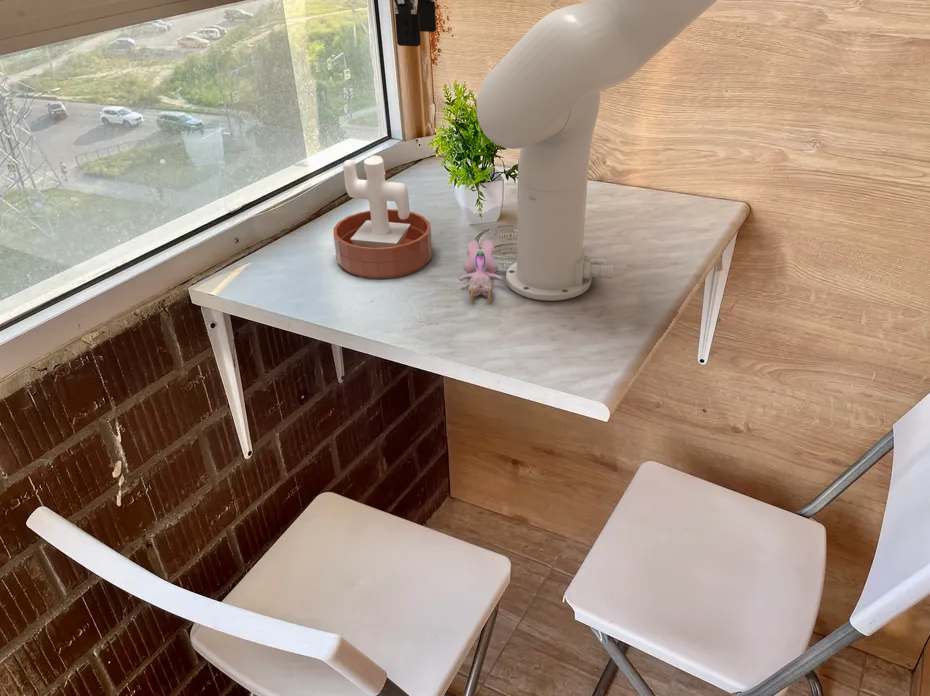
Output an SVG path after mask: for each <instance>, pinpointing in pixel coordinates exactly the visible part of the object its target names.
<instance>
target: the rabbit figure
mask: <svg viewBox="0 0 930 696" xmlns="http://www.w3.org/2000/svg"><path fill="white" fill-rule="evenodd" d="M466 253H467V255H468V256H467V259H466V261H464V264H463V266H462V268H463V270H464V272H465V273H466V274H463V275H461V276H459V277H458V280H459V281H464V280H465V279H470V280H469V281H468V287H467V292H468V294H469V296H470V297H469V300H468V302H473V301H474V302H476V299H475V298H476V297H478V296H479V295H482V296H484V297H485V298H486V300H485V302H487V301H489V304H491V301H493V298H492V295H493V293H494V284H493V281H492V279H497V280H498V281H503V277H502V276H501V275H498V274H496V272H497V270H498V269H499V265H498V263H497V261H496V260H495V259H494V257H493V256H494V253H495V245H494V242H492V241H491V240H489V239H485V240H483V242H482V243H481V248H480V243H479V242H478V240H476V239H474V240H472V239H471V240H470V241H469V242H468V243H467V245H466Z"/></svg>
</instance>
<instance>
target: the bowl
mask: <svg viewBox="0 0 930 696" xmlns="http://www.w3.org/2000/svg"><path fill="white" fill-rule="evenodd" d="M387 209H388V220H389V222H393V223H404V224H410V227H409V229H408V232H407V234H406V237H405V239H404V242H403V244H402V245H397V246H393V247H380V248H373V247H361V246H357V245H354V244H353V242H352V241H351V240H350V239H351V238H352V237H353V235H354V234H355V233H356V232H357V231H358V230H359V228H360V227H361V226H362V225H363V224H364V223H365V221H366V220H370V221H371V213H370V210H365V211H360V212H356V213H354V214H351V215H348V216H346V217H344V218H343V219H341V220H339V221H338V222H337V223H336V225H335V226H334V227H333V229H332V230H333V234H332V235H333V243H334V249H335V257H336V261H337V263H338V264H339V266H340V267H341V268H342V269H343V270H345V271H346V273H348V274H349V273H350V274H351V275H354V276H357V277H361V278H366V279H393V278H399V277H405V276H407V275H410V274H413V273H416V272H418V271H419V270H421V269H423V268H424V267H425V266H426V265H427V264H428V262H430V259H431V257H432V256H433V243H432V242H433V241H432V227H431V222H430V221H429V220H428V219H427V218H426V217H425V216H423V215H421V214H418V213H416V212H414V211H410V215H409V217H408V218H407V219H404V220H402V219H400V218H399V216H398V209H395V208H393V209H392V208H387Z"/></svg>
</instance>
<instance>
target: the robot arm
mask: <svg viewBox="0 0 930 696" xmlns="http://www.w3.org/2000/svg"><path fill="white" fill-rule="evenodd" d="M717 1H718V0H588V1H583V2H579V3H574V4H571V5H565V6H563V7H560V8H558V9H555V10H553V11H551V12H550V13H548V14H547V15H545V16H543V17H542V18H541V19H540V20H538V21H537V22H536V23H535V24H534V25H533V26H532V27H531V28H530V29H529V30H528V31H527V32H526V33H525V34H524V35H523V36H522V37H521V38H520V40H519V41H517V43H516V44H515V45H514V46H513V47H512V48H511V49H510V50H509V51H508V52H507V53H506V54H505V56H503V57H502V58H501V60H499V62H498V63H497V64H496V65H495V66H494V67H493V68H492V70H491V71H490V72H489V73H488V74H487V75H486V77H485V78H484V80H483V82H482V84H481V85H480V88H479V91H478V94H477V99H476V117H477V122H478V124H479V127H480V129H481V131H482V132H483V135H485V137H486V138H487V139H488V140H489V141H491V142H492V143H493V144H495V145H497V146H499V147H501V148H504V149H510V150H517V149H520V150H519V155H518V164H517V165H518V166H517V212H516V213H517V215H516V217H517V219H516V224H517V225H516V227H517V228H516V262H513V263H512V264H510V266H509V267H508V268H507V269H506V272H505V282H506V284H507V286H508V287H509V289H510V290H512V291H513V292H514V293H516V294H518V295H520V296H522V297H525V298H529V299H533V300H537V301H549V302H550V301H551V302H556V301H565V300H569V299H573V298H576V297H578V296H580V295H582V294H584V293H585V292H586V291H588V289H590V287H591V284H592V277H594V278H600V279H613V269H614V265H613V264H606V258H592V257H590V256H589V255H586V248H587V247H585V246H584V238H585V237H584V236H585V221H586V206H587V192H588V181H589V165H590V154H591V147H592V140H593V136H594V131H595V127H596V123H597V120H598V114H599V110H600V104H601V92H602V91H605V90H607V89H608V90H609V89H610V88H614V87H616V86H618V85H620V84H622V83H624V82H626V81H628V80H629V79H631V78H632V77H633V76H634V75H636V73H637V72H639V70H641V68H643V67H644V66H645V65H646V64H647V63H648V62H649V61H651V59H653V58H654V57H655V56H656V55H657V54H658V53H659V52H661V51H662V50H663V49H664V48H665V47H667V46H668V45H669V44H670V43H671V42H673V40H675V39H676V38H677V37H678V36H679V35H681V34H682V32H684V30H686V28H687V27H689V26H690V25H691V24H692V23H694V22H695V21H696V20H697V19H698V18H699V17H700V16H701V15H703V14H704V13H705V12H706V11H707V10H709V9H710V7H712V6H713V5H714V4H715V3H716V2H717ZM393 2H394V6H393V7H394V8H393V9H394V19H395V20H394V21H395V32H396V44H397V46H400V47H420V46H421V44H422V38H421V33H422V32H426V33H427V32H428V33H434V32H436V31H437V15H436V1H435V0H393Z"/></svg>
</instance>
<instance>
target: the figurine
mask: <svg viewBox="0 0 930 696" xmlns="http://www.w3.org/2000/svg"><path fill="white" fill-rule="evenodd" d="M363 166H364V172H365V174H366V179H359V177H358V174H357V167H356V163H355V161H354V160H353V159H347V160H344V162H343V164H342V170H343V178H344V186H345V190H346V193H347V196H349V197H350V198H352V199H361V200H367V201H368V202H369V204H368V205H369V211H370V213H371V221H370V220H366V221H365V223H364V224H363V225H362V226H361V227H360V228H359V230H358V231H357V232H356V233H355V234H354V235H353V237H352V238H351V239H350V240H351V241H352V242H353V244H354V245H357V246H361V247H373V248H380V247H393V246H397V245H402V244H403V242H404V239H405V237H406V234H407V232H408V229H409V227H410V224H404V223H393V222H389V220H388V209H389V208H388V202H395V204H396V208H397V210H398V216H399V218H400V219H402V220H404V219H407V218H408V217H409V215H410V212H411V211H410V197H409V190H408V186H406V184H405V183H403V182H395V181H387V180H386V177H385V176H386V171H385V163H384V159H383V156H381V155H370V156H369V157H367V158H365V159H364V160H363Z"/></svg>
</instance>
